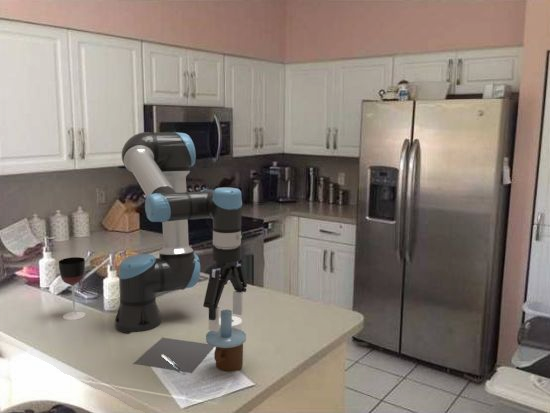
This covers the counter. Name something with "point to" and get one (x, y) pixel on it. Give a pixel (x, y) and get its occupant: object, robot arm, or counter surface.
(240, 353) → the mug
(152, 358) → the mat
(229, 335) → the lid
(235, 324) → the toilet paper
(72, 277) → the wineglass
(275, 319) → the counter surface
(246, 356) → the counter surface
